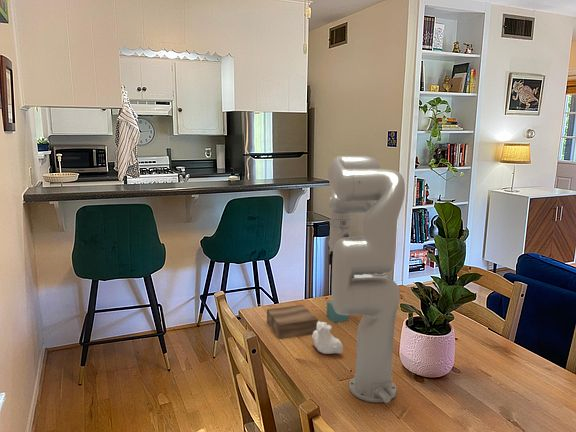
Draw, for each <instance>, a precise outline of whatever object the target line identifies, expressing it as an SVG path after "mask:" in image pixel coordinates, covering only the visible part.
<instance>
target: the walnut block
mask: <svg viewBox="0 0 576 432" xmlns="http://www.w3.org/2000/svg"><path fill="white" fill-rule="evenodd" d="M318 321H319V319H318V317H316V316H315V315H314V314H313V313H312V312H311V311H310V310H309V309H308V308H307V307H306V306H305V305H304V304H299V305H291V306H290V305H289V306H282V307H275V308H268V309H266V323H267V324H268V326H269V327H270V328H271V330H272V331H273V332H274V334H275V335H276V336H277V338H278V339H279V340H281V339H288V338H294V337H300V336H307V335H313V332H314V331H315V330H317V329H316V327H317V322H318Z"/></svg>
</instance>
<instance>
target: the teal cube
mask: <svg viewBox="0 0 576 432" xmlns="http://www.w3.org/2000/svg"><path fill="white" fill-rule="evenodd" d="M349 316H350V315H339V314H337V313H336V312H335V311H334V309H333V306H332V300H328V301H326V317H327V318H328V319H329V320H330V321H331V322H332V323H339V322H341V323H342V322H347V321H349Z"/></svg>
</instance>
